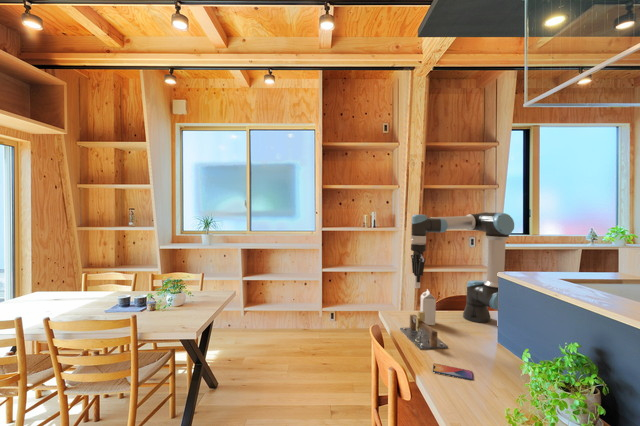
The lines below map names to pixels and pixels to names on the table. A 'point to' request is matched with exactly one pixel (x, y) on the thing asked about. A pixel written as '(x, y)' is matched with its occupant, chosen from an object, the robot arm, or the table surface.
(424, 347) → the flange plate
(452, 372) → the smartphone
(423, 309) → the milk carton
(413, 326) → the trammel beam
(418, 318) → the slider
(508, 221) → the robot arm
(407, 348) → the table surface
